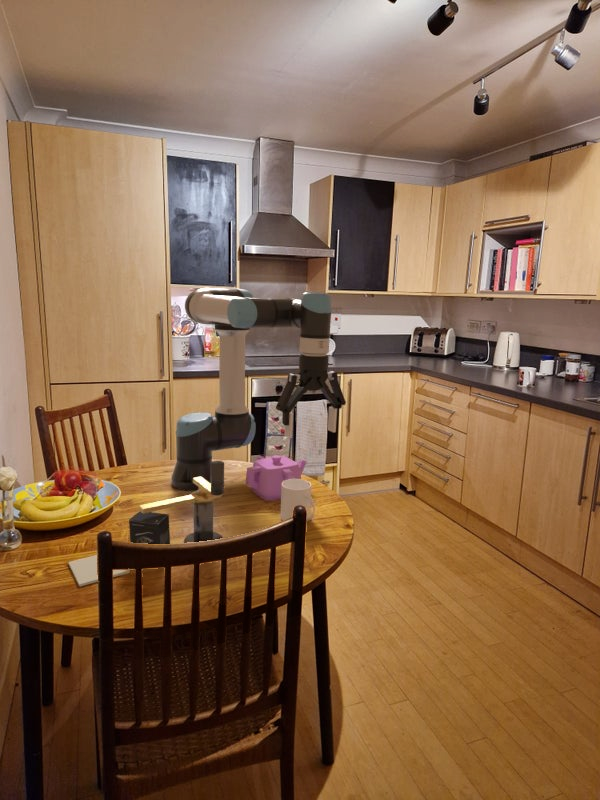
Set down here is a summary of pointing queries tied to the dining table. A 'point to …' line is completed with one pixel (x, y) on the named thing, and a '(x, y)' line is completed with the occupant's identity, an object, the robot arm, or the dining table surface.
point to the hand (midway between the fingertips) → (310, 434)
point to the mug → (296, 497)
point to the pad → (89, 570)
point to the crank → (202, 495)
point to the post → (202, 523)
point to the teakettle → (272, 475)
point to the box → (149, 528)
